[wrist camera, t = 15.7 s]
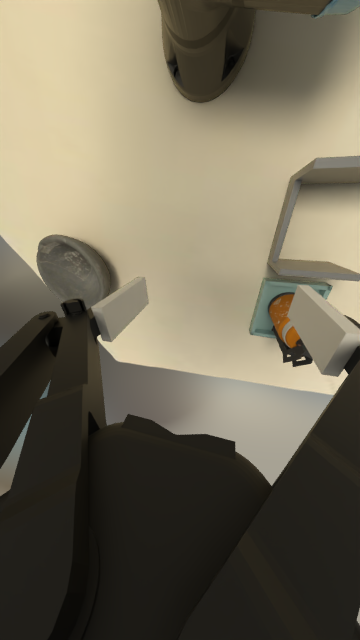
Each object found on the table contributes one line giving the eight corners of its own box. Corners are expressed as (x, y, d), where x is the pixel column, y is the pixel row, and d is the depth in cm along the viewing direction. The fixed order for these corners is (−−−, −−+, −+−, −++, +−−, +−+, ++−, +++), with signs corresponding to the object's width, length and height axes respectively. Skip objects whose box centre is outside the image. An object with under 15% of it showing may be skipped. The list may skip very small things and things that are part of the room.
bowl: (65, 288, 65) (41, 298, 56) (57, 224, 53) (24, 224, 44) (119, 308, 63) (102, 321, 55) (123, 246, 51) (102, 251, 43)
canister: (311, 298, 45) (361, 344, 28) (284, 329, 51) (312, 382, 34) (280, 286, 45) (311, 323, 28) (257, 318, 51) (271, 364, 34)
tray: (263, 277, 45) (265, 280, 43) (326, 282, 42) (332, 286, 40) (249, 329, 54) (250, 334, 51) (300, 336, 51) (304, 342, 48)
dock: (290, 177, 35) (316, 158, 25) (368, 174, 32) (433, 152, 22) (267, 263, 44) (278, 275, 34) (326, 267, 41) (358, 281, 31)
